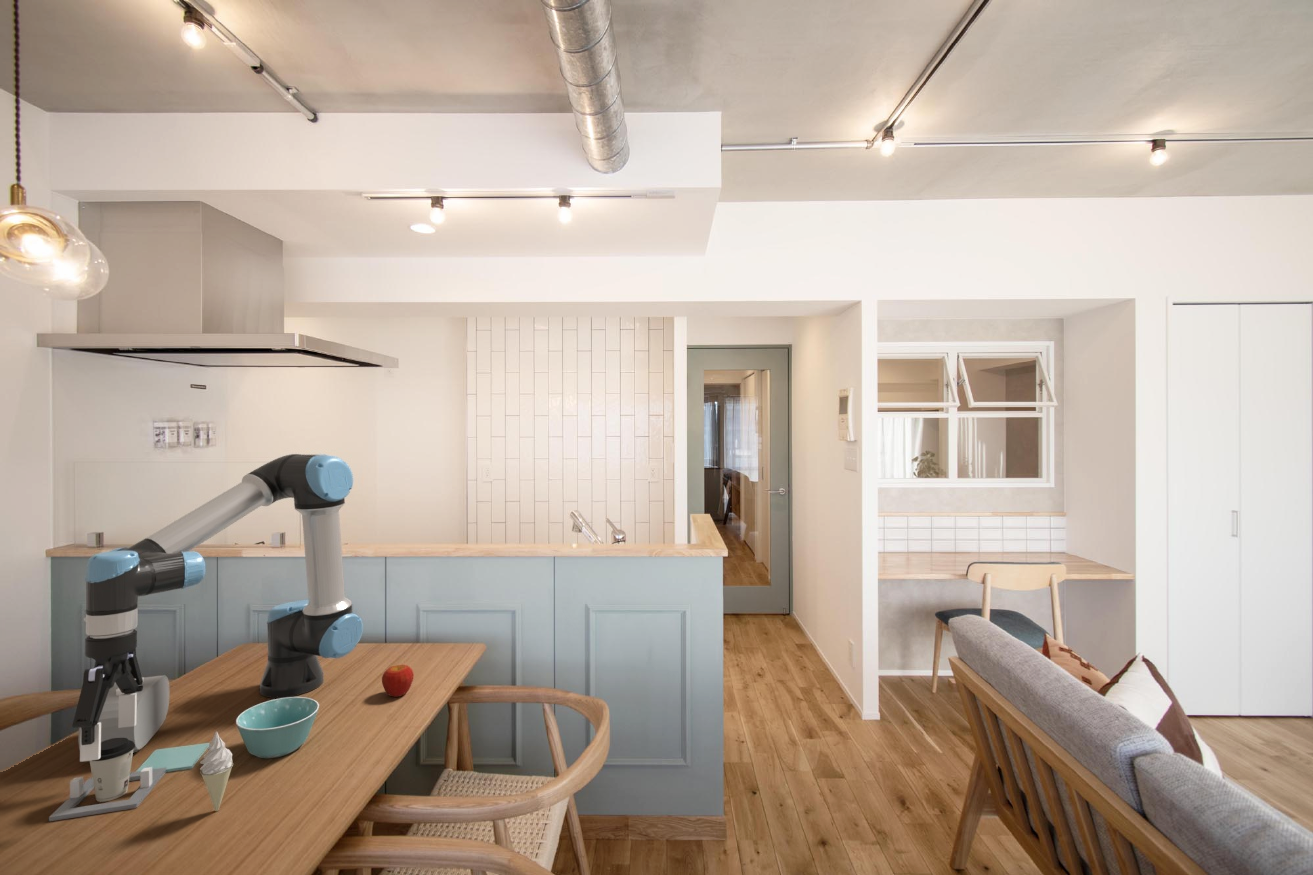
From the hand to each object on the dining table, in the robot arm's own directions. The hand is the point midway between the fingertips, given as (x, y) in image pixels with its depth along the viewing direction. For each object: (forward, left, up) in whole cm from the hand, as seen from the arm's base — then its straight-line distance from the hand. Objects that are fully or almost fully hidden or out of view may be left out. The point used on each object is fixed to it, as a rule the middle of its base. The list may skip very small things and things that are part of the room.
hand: (109, 742), depth 118 cm
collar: (0, 0, -10) cm, 10 cm away
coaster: (-6, -11, -10) cm, 17 cm away
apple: (-49, -32, -11) cm, 60 cm away
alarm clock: (+7, -23, -11) cm, 27 cm away
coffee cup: (0, 0, -11) cm, 11 cm away
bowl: (-26, -10, -11) cm, 30 cm away
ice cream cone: (-21, +12, -11) cm, 26 cm away
